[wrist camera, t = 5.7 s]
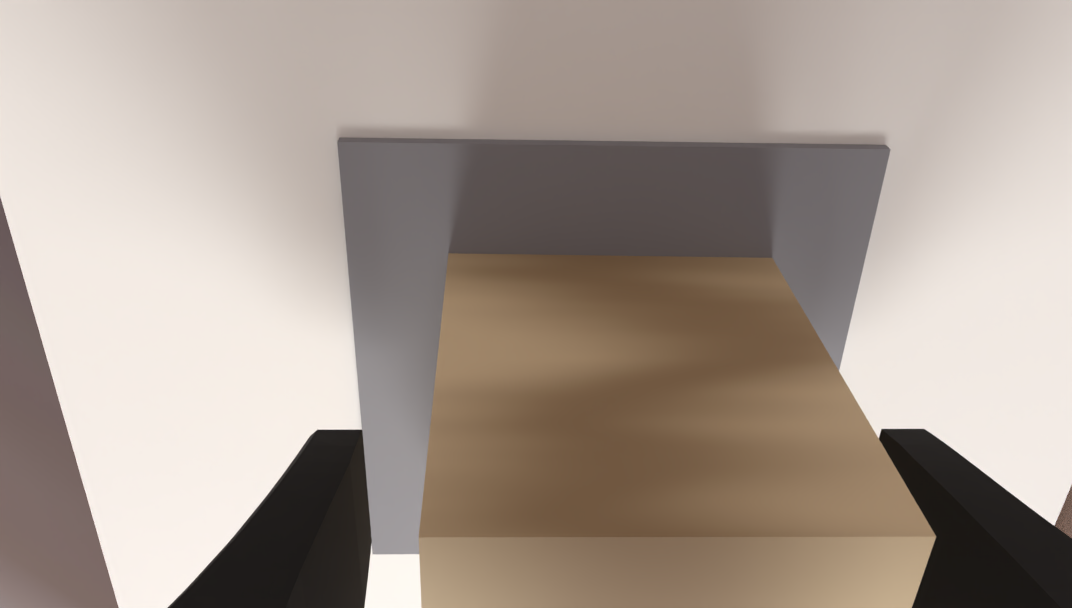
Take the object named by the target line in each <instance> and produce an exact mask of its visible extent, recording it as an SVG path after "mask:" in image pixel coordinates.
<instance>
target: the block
mask: <svg viewBox="0 0 1072 608" xmlns="http://www.w3.org/2000/svg"><path fill="white" fill-rule="evenodd" d="M935 539H936V535H935V534H934V532H933V530H932V529H931V527H930V525H929V523H928V522H927V520H926V518H925V517H924V515H923V513H922V512H921V510H920V508H919V506H918V505H917V503H916V501H915V500H914V498H913V496H912V495H911V493H910V491H909V489H908V488H907V486H906V484H905V483H904V481H903V479H902V478H901V476H900V474H899V472H898V471H897V469H896V467H895V466H894V464H893V462H892V460H891V459H890V457H889V455H888V454H887V452H886V450H885V449H884V447H883V445H882V443H881V442H880V440H879V438H878V437H877V435H876V433H875V432H874V430H873V428H872V426H871V425H870V423H869V421H868V420H867V418H866V416H865V415H864V413H863V411H862V409H861V408H860V406H859V404H858V403H857V401H856V399H855V398H854V396H853V394H852V392H851V391H850V389H849V387H848V386H847V384H846V382H845V381H844V379H843V377H842V375H841V374H840V372H839V370H838V369H837V367H836V365H835V364H834V362H833V360H832V358H831V357H830V355H829V353H828V352H827V350H826V348H825V347H824V345H823V343H822V341H821V340H820V338H819V336H818V335H817V333H816V331H815V330H814V328H813V326H812V324H811V323H810V321H809V319H808V318H807V316H806V314H805V313H804V311H803V309H802V307H801V306H800V304H799V302H798V301H797V299H796V297H795V296H794V294H793V292H792V290H791V289H790V287H789V285H788V284H787V282H786V280H785V279H784V277H783V275H782V273H781V272H780V270H779V268H778V267H777V265H776V263H775V261H774V260H773V258H748V257H675V256H603V255H530V254H458V253H448V262H447V272H446V281H445V291H444V300H443V310H442V319H441V329H440V338H439V348H438V358H437V367H436V377H435V386H434V396H433V405H432V415H431V424H430V434H429V443H428V453H427V462H426V472H425V481H424V491H423V500H422V510H421V519H420V529H419V560H420V584H421V608H912V606H913V603H914V600H915V597H916V594H917V591H918V588H919V585H920V583H921V580H922V577H923V574H924V571H925V568H926V565H927V562H928V559H929V556H930V553H931V550H932V548H933V545H934V542H935Z"/></svg>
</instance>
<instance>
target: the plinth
mask: <svg viewBox="0 0 1072 608" xmlns="http://www.w3.org/2000/svg"><path fill="white" fill-rule="evenodd" d="M0 197H1V200H2V204H3V207H4V211H5V214H6V218H7V221H8V225H9V228H10V232H11V235H12V238H13V242H14V245H15V249H16V252H17V256H18V259H19V263H20V266H21V270H22V273H23V277H24V280H25V284H26V287H27V291H28V294H29V297H30V301H31V304H32V308H33V311H34V315H35V318H36V322H37V325H38V329H39V332H40V336H41V339H42V343H43V346H44V350H45V353H46V357H47V360H48V363H49V367H50V370H51V374H52V377H53V381H54V384H55V388H56V391H57V395H58V398H59V402H60V405H61V409H62V412H63V416H64V419H65V422H66V426H67V429H68V433H69V436H70V440H71V443H72V447H73V450H74V454H75V457H76V461H77V464H78V468H79V471H80V475H81V478H82V481H83V485H84V488H85V492H86V495H87V499H88V502H89V506H90V509H91V513H92V516H93V520H94V523H95V527H96V530H97V534H98V537H99V541H100V544H101V547H102V551H103V554H104V558H105V561H106V565H107V568H108V572H109V575H110V579H111V582H112V586H113V589H114V593H115V596H116V600H117V603H118V606H119V608H168V607H169V606H170V605H171V604H172V603H173V602H174V601H175V600H176V598H177V597H178V596H179V595H180V594H181V593H182V592H183V591H184V590H185V589H186V588H187V587H188V586H189V585H190V584H191V583H192V582H193V581H194V580H195V579H196V578H197V576H198V575H199V574H200V573H201V572H202V571H203V570H204V569H205V568H206V567H207V565H208V564H209V563H210V562H211V561H212V560H213V559H214V558H215V557H216V556H217V555H218V553H219V552H220V551H221V550H222V549H223V548H224V547H225V546H226V545H227V543H228V542H229V541H230V540H231V539H232V538H233V536H234V535H235V534H236V533H237V532H238V530H239V529H240V528H241V527H242V526H243V524H244V523H245V522H246V521H247V519H248V518H249V517H250V516H251V514H252V513H253V512H254V511H255V510H256V508H257V507H258V506H259V505H260V503H261V502H262V501H263V500H264V498H265V497H266V496H267V495H268V493H269V492H270V491H271V489H272V488H273V487H274V485H275V484H276V483H277V481H278V480H279V479H280V478H281V476H282V475H283V473H284V472H285V471H286V469H287V468H288V467H289V465H290V464H291V462H292V461H293V460H294V458H295V457H296V455H297V454H298V453H299V451H300V450H301V448H302V447H303V445H304V444H305V443H306V441H307V440H308V438H309V437H310V436H311V435H312V434H313V433H314V432H315V431H316V430H362V432H363V444H364V455H365V467H366V479H367V491H368V502H369V514H370V526H371V537H372V544H371V554H370V563H369V572H368V581H367V590H366V598H365V607H364V608H421V584H420V560H419V529H420V519H421V510H422V500H423V491H424V481H425V472H426V462H427V453H428V443H429V434H430V424H431V415H432V405H433V396H434V386H435V377H436V367H437V358H438V348H439V338H440V329H441V319H442V310H443V300H444V291H445V281H446V272H447V262H448V253H458V254H530V255H603V256H675V257H748V258H773V260H774V261H775V263H776V265H777V267H778V268H779V270H780V272H781V273H782V275H783V277H784V279H785V280H786V282H787V284H788V285H789V287H790V289H791V290H792V292H793V294H794V296H795V297H796V299H797V301H798V302H799V304H800V306H801V307H802V309H803V311H804V313H805V314H806V316H807V318H808V319H809V321H810V323H811V324H812V326H813V328H814V330H815V331H816V333H817V335H818V336H819V338H820V340H821V341H822V343H823V345H824V347H825V348H826V350H827V352H828V353H829V355H830V357H831V358H832V360H833V362H834V364H835V365H836V367H837V369H838V370H839V372H840V374H841V375H842V377H843V379H844V381H845V382H846V384H847V386H848V387H849V389H850V391H851V392H852V394H853V396H854V398H855V399H856V401H857V403H858V404H859V406H860V408H861V409H862V411H863V413H864V415H865V416H866V418H867V420H868V421H869V423H870V425H871V426H872V428H873V430H874V432H875V433H876V435H877V437H878V438H879V436H880V432H881V429H925V430H927V431H928V432H930V433H931V434H933V435H934V436H936V437H937V438H939V439H940V440H941V441H943V442H944V443H945V444H947V445H948V446H950V447H951V448H952V449H954V450H955V451H956V452H958V453H959V454H960V455H961V456H963V457H964V458H965V459H967V460H968V461H969V462H971V463H972V464H973V465H975V466H976V467H977V468H979V469H980V470H981V471H982V472H984V473H985V474H986V475H988V476H989V477H990V478H992V479H993V480H994V481H995V482H997V483H998V484H999V485H1001V486H1002V487H1003V488H1005V489H1006V490H1007V491H1008V492H1010V493H1011V494H1012V495H1014V496H1015V497H1016V498H1018V499H1019V500H1020V501H1022V502H1023V503H1024V504H1026V505H1027V506H1028V507H1030V508H1031V509H1032V510H1034V511H1035V512H1036V513H1038V514H1039V515H1040V516H1042V517H1043V518H1044V519H1046V520H1047V521H1048V522H1050V523H1051V524H1052V525H1054V526H1055V523H1056V521H1057V518H1058V516H1059V514H1060V511H1061V509H1062V506H1063V504H1064V502H1065V499H1066V497H1067V494H1068V492H1069V490H1070V487H1071V485H1072V0H0Z"/></svg>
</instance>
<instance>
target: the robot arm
mask: <svg viewBox="0 0 1072 608" xmlns="http://www.w3.org/2000/svg"><path fill="white" fill-rule="evenodd" d="M879 440H880V442H881V443H882V445H883V447H884V449H885V450H886V452H887V454H888V455H889V457H890V459H891V460H892V462H893V464H894V466H895V467H896V469H897V471H898V472H899V474H900V476H901V478H902V479H903V481H904V483H905V484H906V486H907V488H908V489H909V491H910V493H911V495H912V496H913V498H914V500H915V501H916V503H917V505H918V506H919V508H920V510H921V512H922V513H923V515H924V517H925V518H926V520H927V522H928V523H929V525H930V527H931V529H932V530H933V532H934V534H935V535H936V539H935V542H934V545H933V548H932V550H931V553H930V556H929V559H928V562H927V565H926V568H925V571H924V574H923V577H922V580H921V583H920V585H919V588H918V591H917V594H916V597H915V600H914V603H913V606H912V608H1072V538H1070V537H1069V536H1068V535H1066V534H1065V533H1063V532H1062V531H1061V530H1059V529H1058V528H1056V527H1055V526H1054V525H1052V524H1051V523H1050V522H1048V521H1047V520H1046V519H1044V518H1043V517H1042V516H1040V515H1039V514H1038V513H1036V512H1035V511H1034V510H1032V509H1031V508H1030V507H1028V506H1027V505H1026V504H1024V503H1023V502H1022V501H1020V500H1019V499H1018V498H1016V497H1015V496H1014V495H1012V494H1011V493H1010V492H1008V491H1007V490H1006V489H1005V488H1003V487H1002V486H1001V485H999V484H998V483H997V482H995V481H994V480H993V479H992V478H990V477H989V476H988V475H986V474H985V473H984V472H982V471H981V470H980V469H979V468H977V467H976V466H975V465H973V464H972V463H971V462H969V461H968V460H967V459H965V458H964V457H963V456H961V455H960V454H959V453H958V452H956V451H955V450H954V449H952V448H951V447H950V446H948V445H947V444H945V443H944V442H943V441H941V440H940V439H939V438H937V437H936V436H934V435H933V434H931V433H930V432H928V431H927V430H925V429H881V432H880V436H879ZM371 544H372V537H371V526H370V514H369V502H368V491H367V479H366V467H365V455H364V444H363V432H362V430H316V431H315V432H314V433H313V434H312V435H311V436H310V437H309V438H308V440H307V441H306V443H305V444H304V445H303V447H302V448H301V450H300V451H299V453H298V454H297V455H296V457H295V458H294V460H293V461H292V462H291V464H290V465H289V467H288V468H287V469H286V471H285V472H284V473H283V475H282V476H281V478H280V479H279V480H278V481H277V483H276V484H275V485H274V487H273V488H272V489H271V491H270V492H269V493H268V495H267V496H266V497H265V498H264V500H263V501H262V502H261V503H260V505H259V506H258V507H257V508H256V510H255V511H254V512H253V513H252V514H251V516H250V517H249V518H248V519H247V521H246V522H245V523H244V524H243V526H242V527H241V528H240V529H239V530H238V532H237V533H236V534H235V535H234V536H233V538H232V539H231V540H230V541H229V542H228V543H227V545H226V546H225V547H224V548H223V549H222V550H221V551H220V552H219V553H218V555H217V556H216V557H215V558H214V559H213V560H212V561H211V562H210V563H209V564H208V565H207V567H206V568H205V569H204V570H203V571H202V572H201V573H200V574H199V575H198V576H197V578H196V579H195V580H194V581H193V582H192V583H191V584H190V585H189V586H188V587H187V588H186V589H185V590H184V591H183V592H182V593H181V594H180V595H179V596H178V597H177V598H176V600H175V601H174V602H173V603H172V604H171V605H170V606H169V607H168V608H364V607H365V598H366V590H367V581H368V572H369V563H370V554H371Z"/></svg>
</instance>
